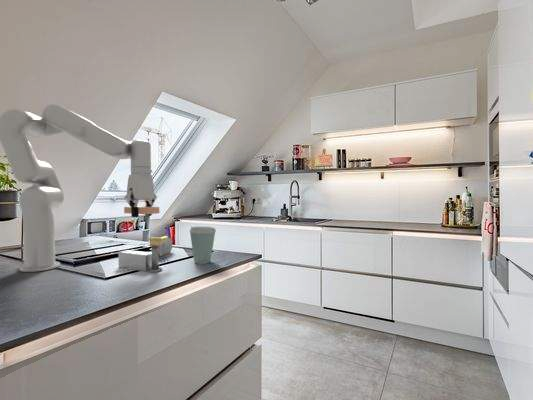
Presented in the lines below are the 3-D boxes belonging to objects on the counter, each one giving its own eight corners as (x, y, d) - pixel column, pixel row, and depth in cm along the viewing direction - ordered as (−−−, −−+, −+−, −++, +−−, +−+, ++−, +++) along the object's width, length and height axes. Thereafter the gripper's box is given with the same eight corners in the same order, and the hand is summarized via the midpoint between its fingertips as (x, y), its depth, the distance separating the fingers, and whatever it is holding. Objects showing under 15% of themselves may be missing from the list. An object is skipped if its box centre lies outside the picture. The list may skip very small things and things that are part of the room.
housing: (118, 267, 118) (117, 243, 118) (128, 264, 123) (128, 241, 122) (155, 272, 111) (155, 247, 110) (165, 269, 115) (164, 245, 115)
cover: (124, 213, 123) (124, 206, 123) (136, 212, 129) (136, 206, 129) (147, 214, 118) (147, 207, 118) (159, 213, 123) (159, 207, 123)
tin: (167, 251, 148) (167, 234, 148) (173, 251, 148) (173, 234, 147) (151, 258, 133) (151, 239, 133) (158, 259, 133) (158, 239, 132)
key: (161, 241, 123) (161, 233, 122) (171, 241, 122) (171, 234, 122) (146, 246, 112) (146, 238, 112) (158, 246, 111) (158, 238, 111)
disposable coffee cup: (197, 258, 133) (197, 224, 133) (220, 260, 130) (220, 225, 130) (184, 264, 123) (184, 227, 122) (209, 266, 120) (208, 228, 120)
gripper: (150, 172, 132) (151, 214, 133) (115, 170, 116) (116, 217, 117) (163, 172, 129) (164, 214, 129) (129, 170, 113) (130, 218, 114)
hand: (141, 215), depth 123 cm, fingers closed on cover, 6 cm apart
